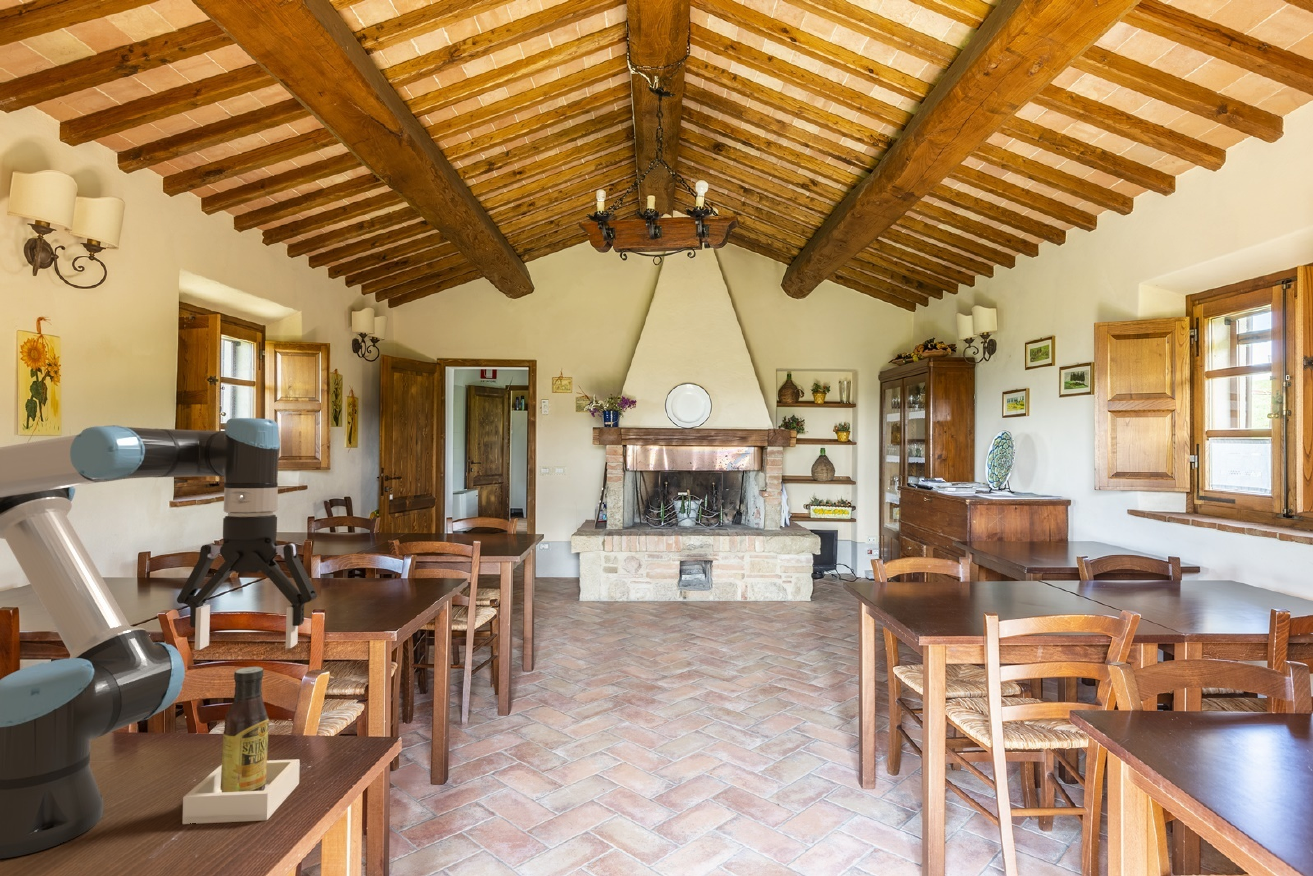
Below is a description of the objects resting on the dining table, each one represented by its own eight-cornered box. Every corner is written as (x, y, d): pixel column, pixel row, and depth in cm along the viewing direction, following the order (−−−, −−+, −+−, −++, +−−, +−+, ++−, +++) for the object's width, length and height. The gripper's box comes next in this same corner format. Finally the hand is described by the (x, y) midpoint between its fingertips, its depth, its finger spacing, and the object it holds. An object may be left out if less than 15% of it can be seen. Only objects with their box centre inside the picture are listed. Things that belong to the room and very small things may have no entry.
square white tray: (182, 824, 104) (183, 797, 104) (223, 786, 116) (224, 762, 116) (267, 820, 105) (267, 793, 105) (299, 783, 117) (299, 759, 117)
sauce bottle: (244, 808, 106) (247, 678, 107) (210, 804, 108) (213, 675, 108) (276, 788, 113) (279, 665, 113) (243, 784, 114) (246, 663, 115)
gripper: (153, 515, 107) (149, 654, 106) (322, 516, 109) (319, 651, 109) (181, 512, 114) (177, 641, 113) (339, 512, 117) (336, 639, 116)
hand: (247, 647), depth 111 cm, fingers open, 13 cm apart
